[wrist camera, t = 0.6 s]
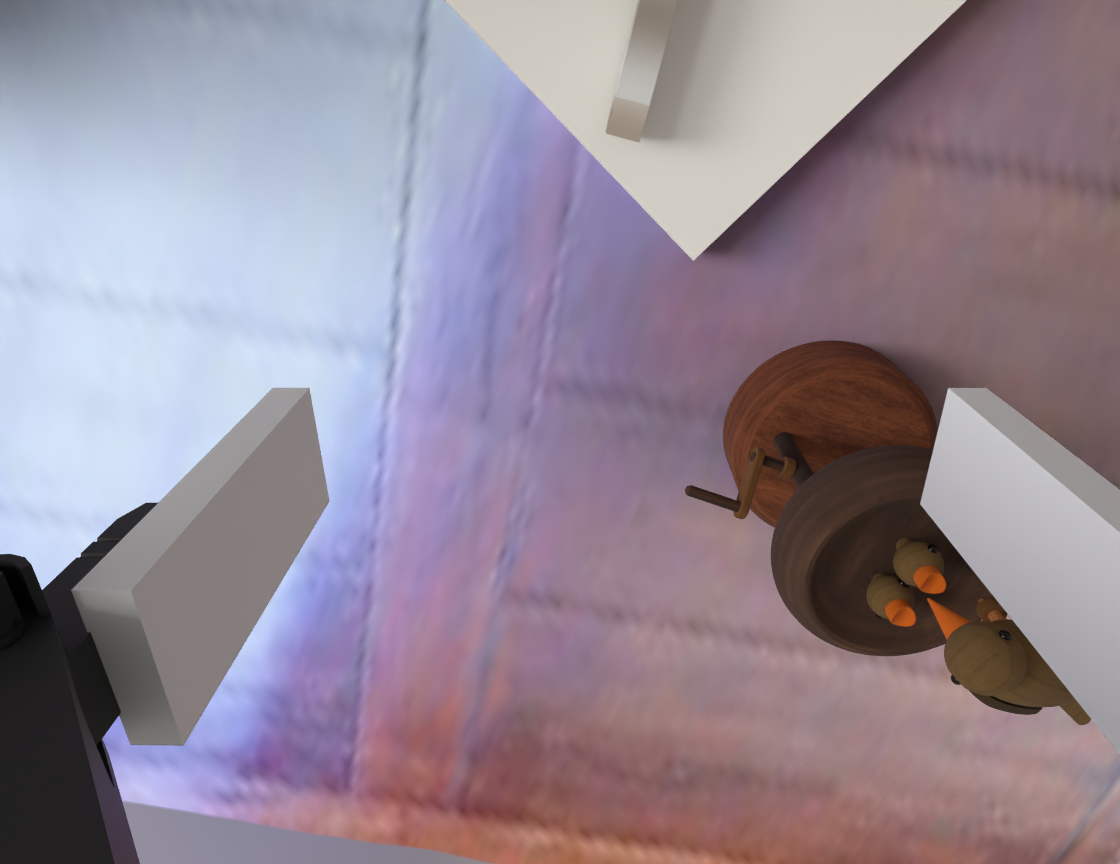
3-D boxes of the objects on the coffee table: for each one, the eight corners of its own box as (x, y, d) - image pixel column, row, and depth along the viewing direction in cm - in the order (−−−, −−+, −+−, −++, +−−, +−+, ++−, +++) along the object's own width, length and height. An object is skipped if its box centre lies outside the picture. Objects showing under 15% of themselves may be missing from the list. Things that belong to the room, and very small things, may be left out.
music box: (978, 357, 38) (1286, 643, 21) (891, 518, 44) (1079, 849, 27) (700, 300, 38) (784, 550, 20) (647, 472, 43) (678, 783, 26)
